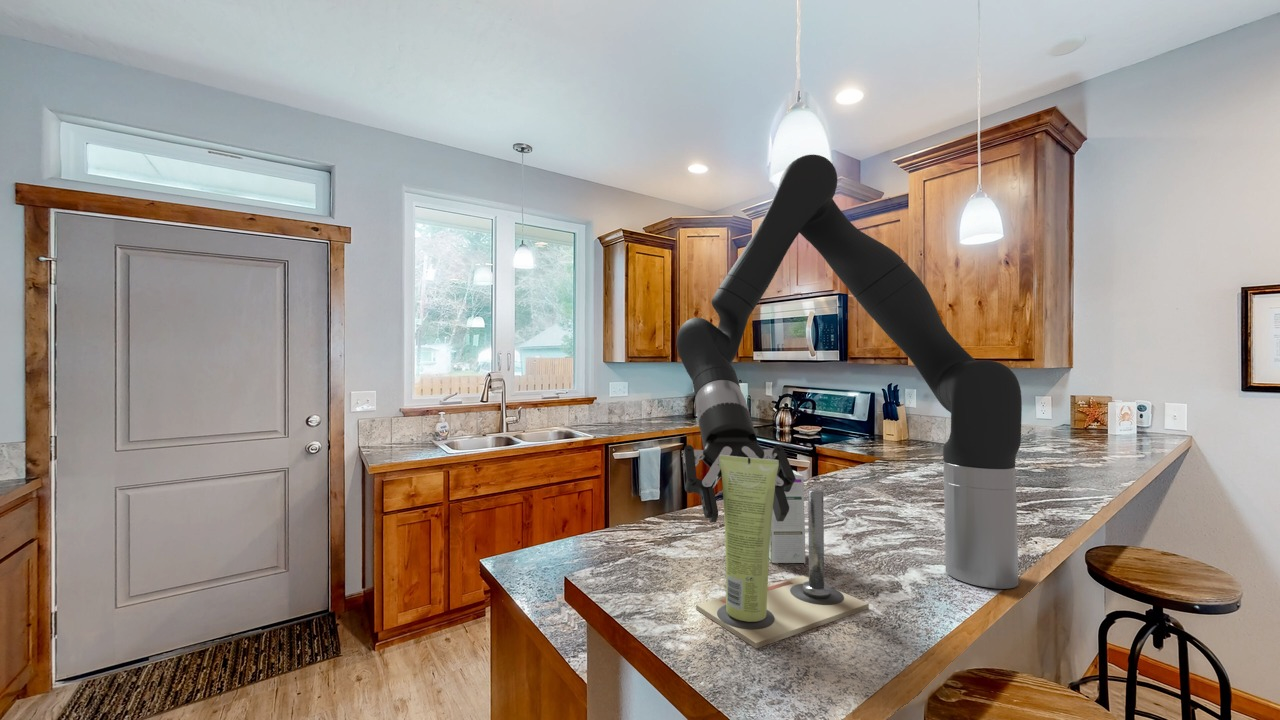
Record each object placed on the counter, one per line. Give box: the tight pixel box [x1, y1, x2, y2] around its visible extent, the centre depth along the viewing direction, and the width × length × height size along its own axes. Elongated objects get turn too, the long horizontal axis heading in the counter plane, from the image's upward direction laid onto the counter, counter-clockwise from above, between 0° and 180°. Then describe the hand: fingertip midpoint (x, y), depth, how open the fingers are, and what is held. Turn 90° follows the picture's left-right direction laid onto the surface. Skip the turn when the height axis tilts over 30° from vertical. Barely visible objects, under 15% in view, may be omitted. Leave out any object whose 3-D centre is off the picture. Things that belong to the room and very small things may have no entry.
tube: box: [720, 455, 779, 622], centre depth 63 cm, size 6×5×20 cm
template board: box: [695, 575, 870, 649], centre depth 65 cm, size 20×11×1 cm, turn 121°
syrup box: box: [769, 469, 806, 565], centre depth 84 cm, size 6×6×14 cm
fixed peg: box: [803, 488, 832, 599], centre depth 69 cm, size 4×4×14 cm
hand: (748, 518), depth 61 cm, fingers open, 8 cm apart
